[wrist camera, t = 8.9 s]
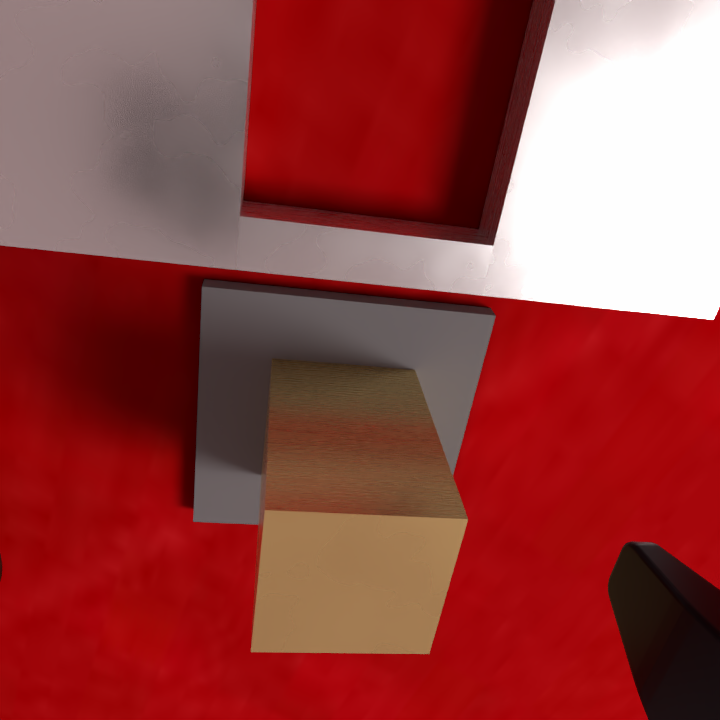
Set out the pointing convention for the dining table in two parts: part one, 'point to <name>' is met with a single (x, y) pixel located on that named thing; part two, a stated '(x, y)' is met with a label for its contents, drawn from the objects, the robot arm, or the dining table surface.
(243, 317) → the pad
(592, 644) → the dining table surface
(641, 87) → the rail
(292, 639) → the brass block
